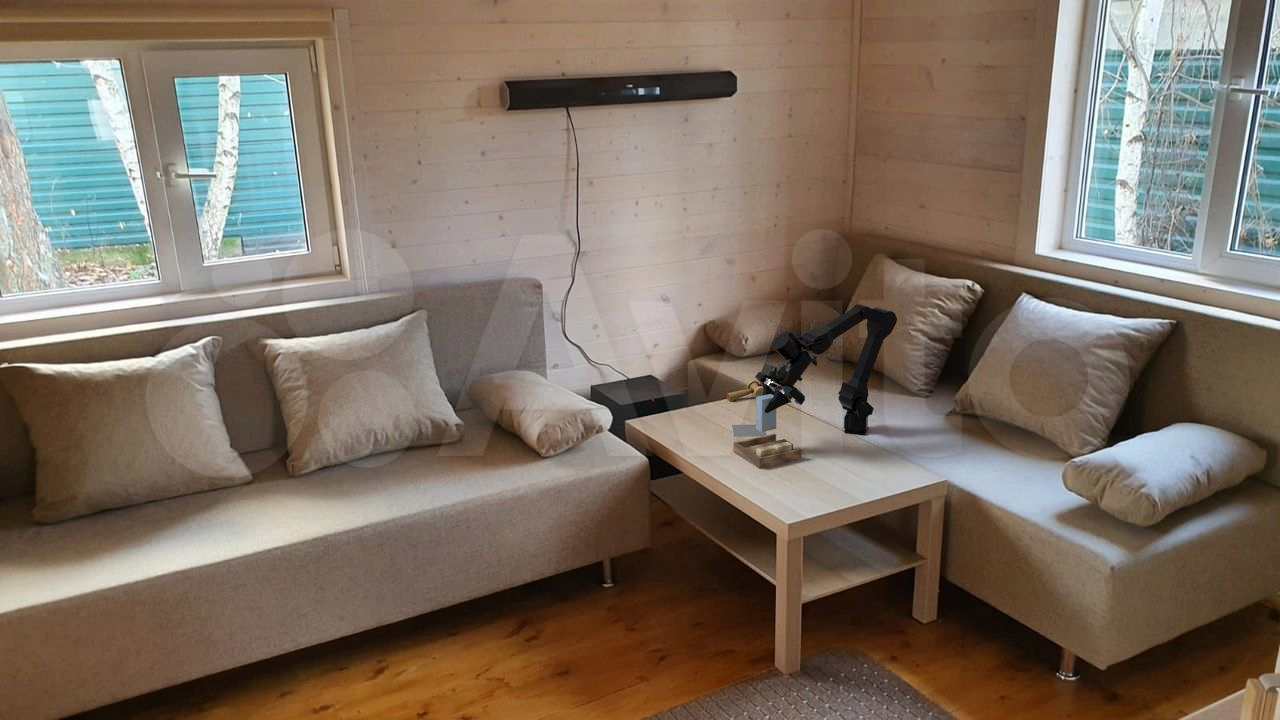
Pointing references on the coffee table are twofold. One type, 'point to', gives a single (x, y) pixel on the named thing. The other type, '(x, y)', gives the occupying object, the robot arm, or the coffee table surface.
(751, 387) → the kendama
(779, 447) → the offcut
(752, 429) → the mat
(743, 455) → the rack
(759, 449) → the offcut
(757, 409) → the light blue block
